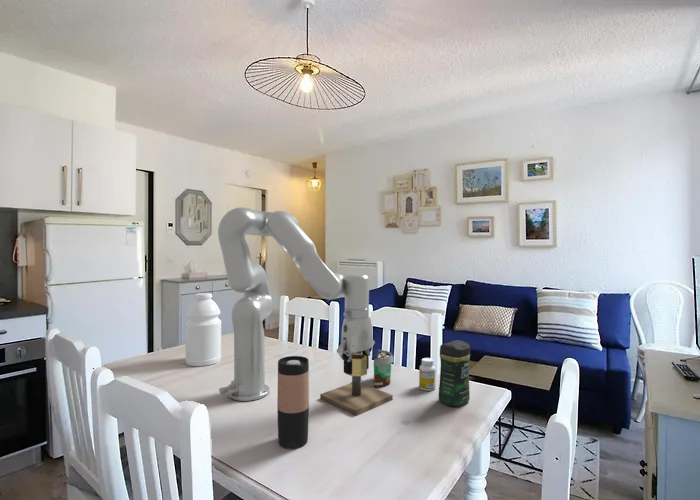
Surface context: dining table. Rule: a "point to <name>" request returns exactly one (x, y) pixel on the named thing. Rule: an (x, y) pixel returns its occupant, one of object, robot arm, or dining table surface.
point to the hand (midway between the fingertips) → (356, 370)
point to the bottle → (203, 332)
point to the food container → (382, 368)
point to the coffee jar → (454, 373)
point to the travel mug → (293, 401)
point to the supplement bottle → (427, 375)
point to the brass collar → (359, 365)
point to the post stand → (356, 397)
